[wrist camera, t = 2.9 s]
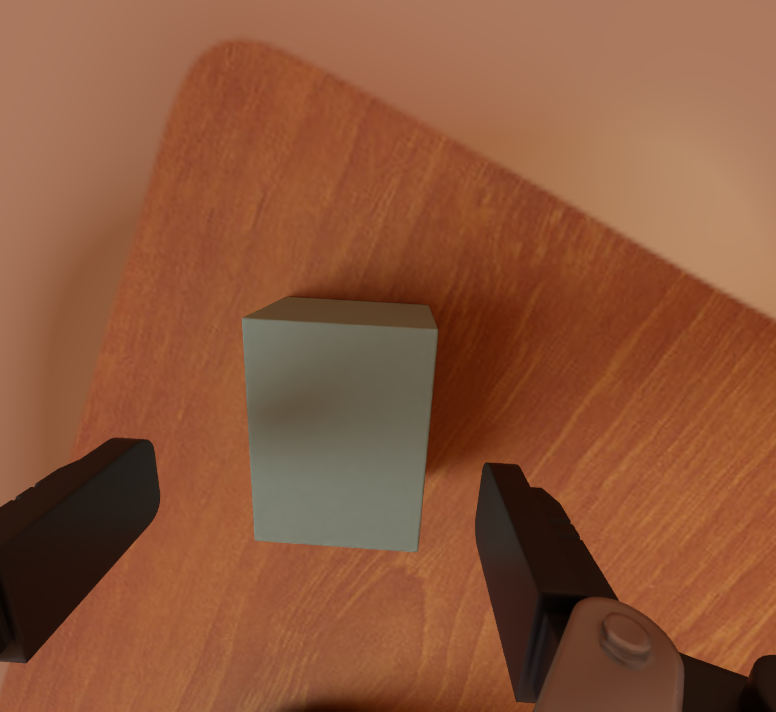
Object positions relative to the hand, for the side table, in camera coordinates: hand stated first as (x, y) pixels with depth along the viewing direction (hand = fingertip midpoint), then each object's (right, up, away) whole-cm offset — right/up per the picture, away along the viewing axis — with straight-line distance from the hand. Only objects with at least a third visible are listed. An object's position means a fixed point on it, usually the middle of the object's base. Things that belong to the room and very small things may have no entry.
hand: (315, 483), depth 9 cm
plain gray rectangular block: (0, +2, +6) cm, 6 cm away
